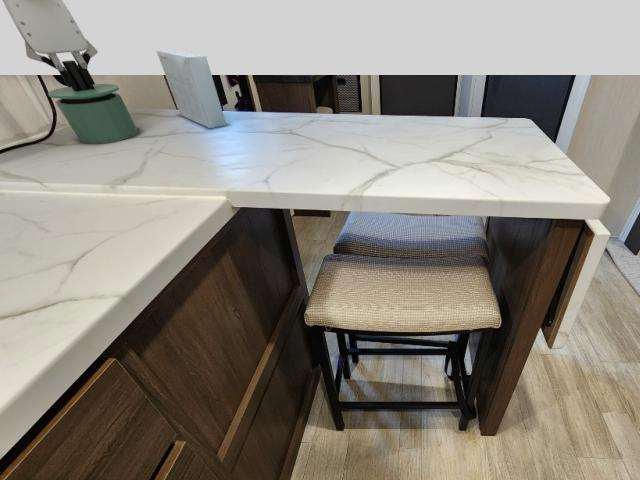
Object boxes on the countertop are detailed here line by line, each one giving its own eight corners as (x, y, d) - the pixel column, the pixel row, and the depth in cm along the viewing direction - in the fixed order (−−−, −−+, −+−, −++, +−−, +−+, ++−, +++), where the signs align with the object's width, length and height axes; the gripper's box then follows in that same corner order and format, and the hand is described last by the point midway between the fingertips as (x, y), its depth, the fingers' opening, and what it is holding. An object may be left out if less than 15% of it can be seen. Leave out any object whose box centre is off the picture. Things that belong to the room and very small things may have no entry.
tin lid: (58, 104, 72) (35, 68, 67) (45, 95, 79) (24, 61, 74) (128, 94, 79) (111, 61, 75) (111, 86, 86) (95, 55, 81)
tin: (87, 147, 79) (62, 107, 73) (74, 136, 85) (50, 98, 79) (144, 135, 85) (126, 97, 80) (129, 125, 92) (110, 90, 86)
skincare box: (229, 125, 92) (206, 55, 81) (210, 129, 89) (184, 57, 78) (197, 111, 103) (174, 48, 92) (179, 115, 100) (152, 49, 89)
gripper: (68, -17, 72) (117, 82, 84) (-34, -19, 63) (38, 92, 76) (76, -18, 68) (127, 86, 81) (-31, -20, 59) (44, 97, 72)
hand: (83, 88), depth 78 cm, fingers closed on tin lid, 2 cm apart
